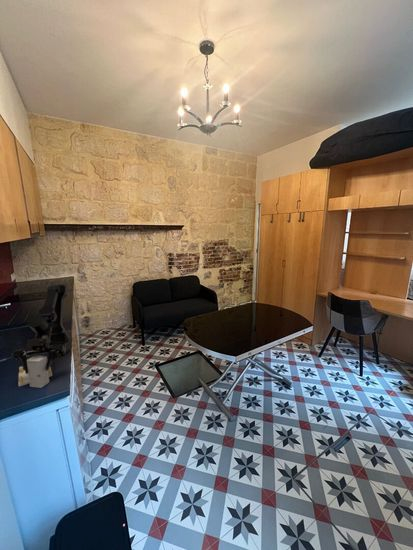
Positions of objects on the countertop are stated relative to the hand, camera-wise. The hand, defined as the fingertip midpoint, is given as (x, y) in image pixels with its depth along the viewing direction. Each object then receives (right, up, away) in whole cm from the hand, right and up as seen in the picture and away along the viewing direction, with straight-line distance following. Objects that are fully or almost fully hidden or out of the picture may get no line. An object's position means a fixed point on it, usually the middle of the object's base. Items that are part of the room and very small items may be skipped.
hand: (36, 372), depth 98 cm
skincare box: (0, -6, +3) cm, 7 cm away
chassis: (-7, -5, +10) cm, 13 cm away
